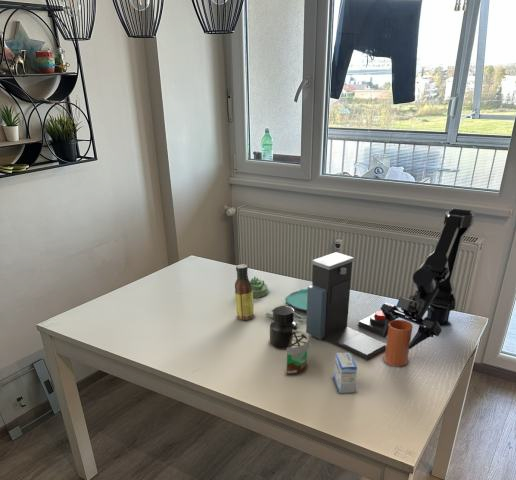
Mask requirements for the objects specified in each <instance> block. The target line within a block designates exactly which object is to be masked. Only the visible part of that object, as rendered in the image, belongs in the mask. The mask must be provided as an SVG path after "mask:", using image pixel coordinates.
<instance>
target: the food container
mask: <svg viewBox="0 0 516 480" xmlns="http://www.w3.org/2000/svg"><path fill="white" fill-rule="evenodd" d="M310 347H311V341H310V338H309V336H308V335H307V333H306V332H303V331H301V330H298V329H297V330H292V336H291V339H290V343H289V346H288V348H286V353H285V355H286V376H295V375H299V374H302V373H303V372H304V371H305V370H306V365H307V358H308V357H307V356H308V350H309V349H310Z"/></svg>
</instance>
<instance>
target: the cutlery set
mask: <svg viewBox="0 0 516 480" xmlns="http://www.w3.org/2000/svg"><path fill="white" fill-rule="evenodd" d="M307 293H308V288H302V289H299V290H297V291H293V292H292V293H289V294H288V295H287V296H285V299H284V300H285V305H288V306H289V307H291V308H293V309H294V310H298V311H301V312H307ZM271 312H272V313H269V312H267V313H264V315H265V316H267V317H269V318H271V319H273V309H271ZM297 316H298V317H299V318H297ZM301 318H303V319H301ZM304 319H306V320H307V317H305V316H303V315H301V314H298V313H297V312H294V321H298V322H299V323H304ZM295 323H296V322H295ZM296 325H297V326H298V323H296Z"/></svg>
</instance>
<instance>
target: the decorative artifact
mask: <svg viewBox="0 0 516 480" xmlns="http://www.w3.org/2000/svg"><path fill="white" fill-rule="evenodd" d="M250 279H251V280H249V282H250V284H251V286H252V294H253V299H256V298H257V299H258V298H262V297H265V296H267V294H268V293H269V292H268V284H266V283H265V280H263V279H259V278H258V277H256V276H254V277H252V278H250Z"/></svg>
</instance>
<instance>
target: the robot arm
mask: <svg viewBox="0 0 516 480" xmlns="http://www.w3.org/2000/svg"><path fill="white" fill-rule="evenodd" d="M475 220H476V213H473V209H466V208H456V207H452V208H451V210H447V211H446V212H445V215H444V220H443V224H444V225H443V228H442V231H441V232H440V235H439V237H438V239H437V243H436V244H435V245H436V246H435V248H434V251H433V252H431V253H430V254H429V255H427V257H426V259H425V261H424V263H422V264H421V265H420V267H419V268H418V269H417V270H416V271H415V272H414V273H413V275H412V281H413V285H414V288H415V292H414V293H413V295H410V296H409V297H408V298H406V297H403V296H399V298H398V301H397V304H396V305H395V304H392V303H389V302H384V303H383V304H382V305H381V307H380V308H379V309H380V311H382V312H383V314H384V315H385V326H384V331H383V335H382V338H384V339H385V338H387V334H388V326H389V323H390V321H393V320H395V319H397V320H399V319H401V320H404V321H407V322H410V323H411V324H415V325H418V329H417V332H416V333H415V335H414V336H413V338H411V339H412V340H411V341H410V344H409V346H408V348H409V350H411V349H413V348H414V347H415V346H417V345H419V344H420V343H421V342H424V341H425V340H427V339H429V338H434V336H435V337H439V336H440V334H441V333H442V327H443V326H451V322H450V321H449V318H450V313H451V312H452V311H454V310H455V309H456V304H457V303H456V302H457V301H456V294H455V289H456V288H455V285H454V283H453V277H454V273H455V270H456V266H457V262H458V258H459V254H460V250H461V246H462V243H463V239H464V238H465V236H466V235H467V234H468V233H469V232H470V231H471V228H472V226H473V225H474V224H475ZM399 309H400V310H399ZM426 312H427V314H426ZM425 314H426V317H424V315H425Z"/></svg>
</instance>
